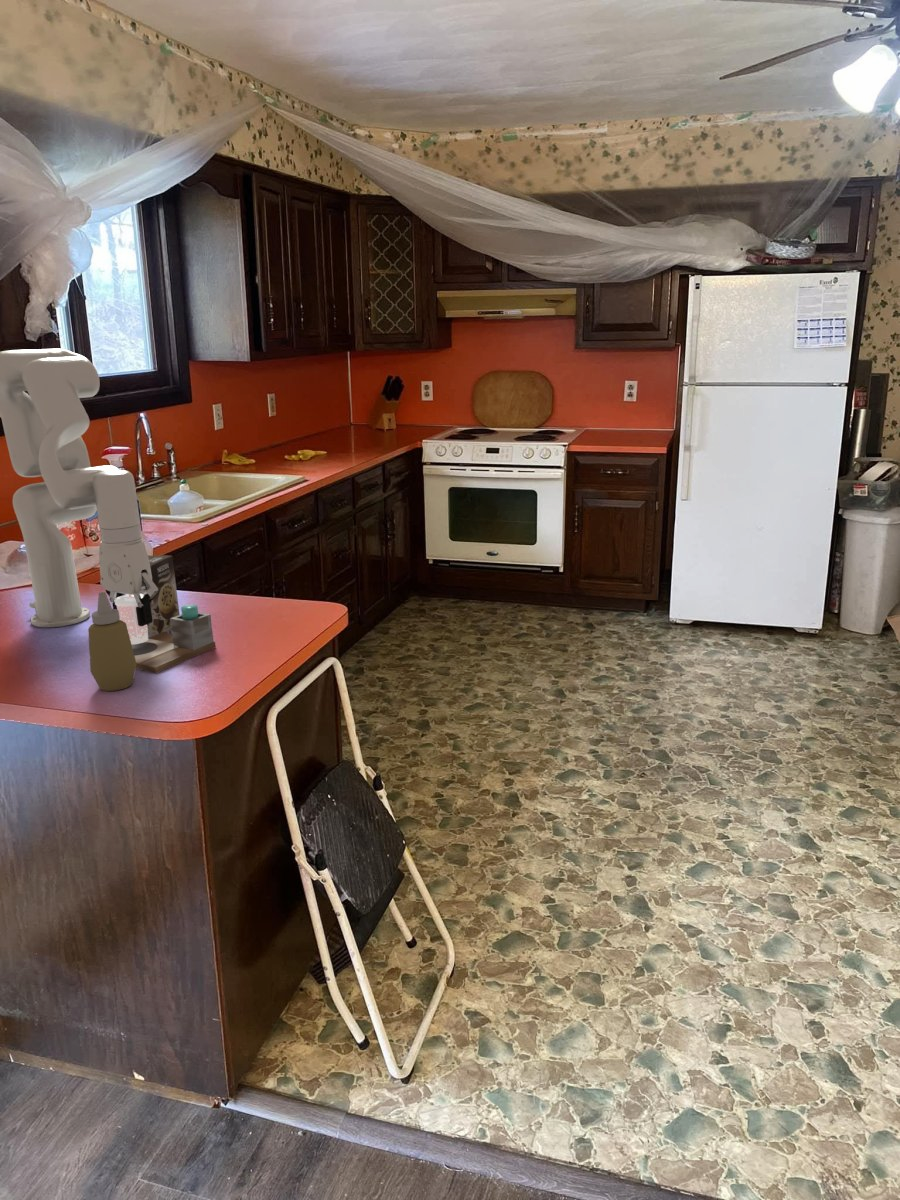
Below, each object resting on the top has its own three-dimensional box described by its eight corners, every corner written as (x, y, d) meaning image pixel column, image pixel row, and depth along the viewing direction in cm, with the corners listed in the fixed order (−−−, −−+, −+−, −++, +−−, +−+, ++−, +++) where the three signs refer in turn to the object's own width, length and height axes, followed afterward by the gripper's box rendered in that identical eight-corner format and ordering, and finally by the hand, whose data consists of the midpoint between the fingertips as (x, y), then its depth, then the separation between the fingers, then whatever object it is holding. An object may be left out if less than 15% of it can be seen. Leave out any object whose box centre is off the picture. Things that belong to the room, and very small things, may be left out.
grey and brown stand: (103, 661, 179) (97, 627, 177) (164, 637, 192) (160, 605, 190) (156, 673, 172) (151, 637, 170) (215, 647, 185) (211, 614, 183)
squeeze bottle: (100, 678, 170) (86, 588, 164) (144, 676, 170) (130, 585, 165) (87, 695, 162) (71, 601, 157) (133, 692, 163) (118, 598, 157)
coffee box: (160, 638, 192) (150, 565, 187) (134, 636, 193) (123, 564, 188) (182, 624, 200) (173, 554, 195) (156, 623, 202) (147, 554, 197)
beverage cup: (150, 633, 184) (140, 568, 180) (154, 642, 179) (145, 575, 175) (118, 638, 182) (108, 572, 178) (122, 647, 177) (112, 579, 173)
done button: (179, 622, 181) (177, 608, 181) (191, 617, 184) (189, 603, 183) (190, 624, 180) (189, 610, 179) (202, 619, 183) (200, 605, 182)
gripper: (75, 534, 175) (89, 621, 181) (136, 542, 167) (149, 633, 172) (107, 527, 181) (119, 611, 187) (167, 534, 173) (178, 622, 178)
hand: (133, 621), depth 179 cm, fingers closed on beverage cup, 6 cm apart
